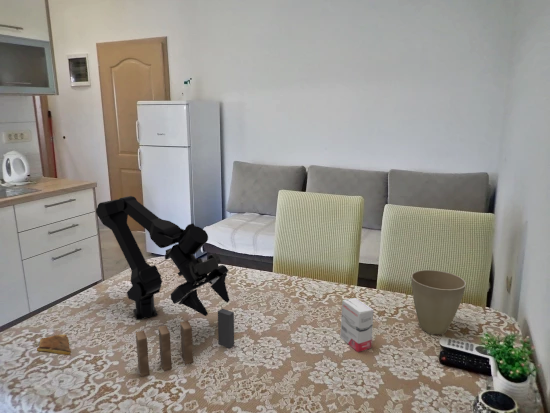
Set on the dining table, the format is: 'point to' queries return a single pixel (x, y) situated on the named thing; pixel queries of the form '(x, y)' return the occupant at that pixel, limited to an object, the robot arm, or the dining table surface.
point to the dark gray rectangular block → (226, 328)
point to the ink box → (356, 324)
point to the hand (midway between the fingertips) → (217, 308)
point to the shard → (55, 344)
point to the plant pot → (436, 298)
